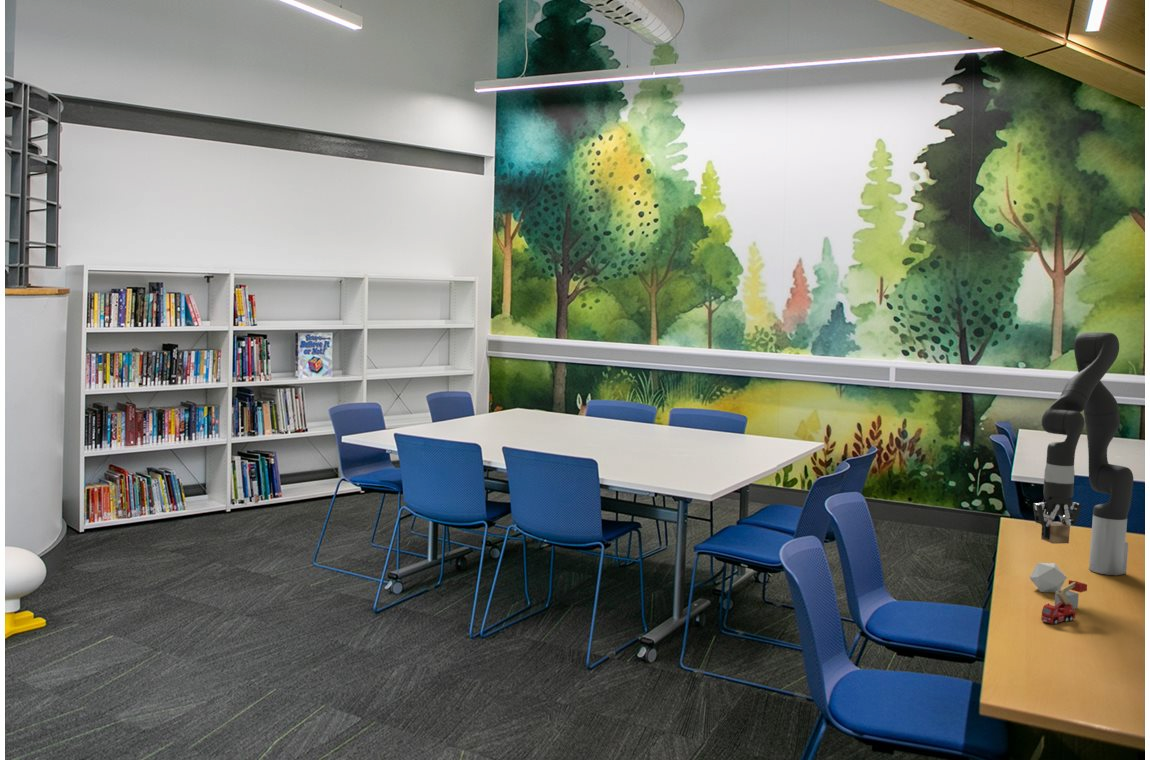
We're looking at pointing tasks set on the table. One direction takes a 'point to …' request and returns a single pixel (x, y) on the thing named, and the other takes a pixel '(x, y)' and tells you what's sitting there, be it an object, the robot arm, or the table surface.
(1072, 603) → the slate block
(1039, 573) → the die
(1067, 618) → the toy fire truck
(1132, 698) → the table surface
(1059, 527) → the walnut block
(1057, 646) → the table surface
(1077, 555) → the table surface
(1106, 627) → the table surface
